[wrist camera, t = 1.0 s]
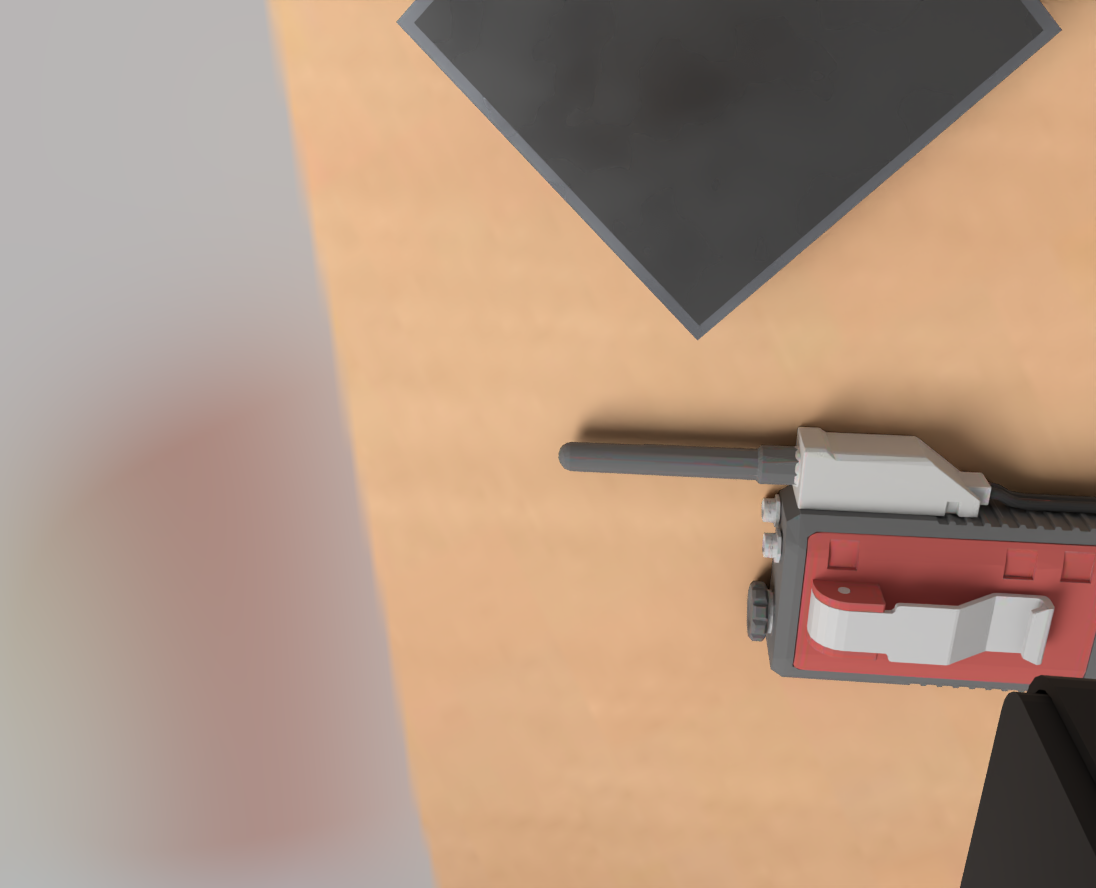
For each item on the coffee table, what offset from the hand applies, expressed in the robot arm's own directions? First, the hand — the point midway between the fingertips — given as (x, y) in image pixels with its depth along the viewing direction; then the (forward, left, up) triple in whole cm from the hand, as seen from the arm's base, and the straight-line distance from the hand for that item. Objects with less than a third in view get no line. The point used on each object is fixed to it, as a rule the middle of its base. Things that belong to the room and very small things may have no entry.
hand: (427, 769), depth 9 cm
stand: (-6, -2, -26) cm, 27 cm away
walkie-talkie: (+2, +14, -27) cm, 30 cm away
